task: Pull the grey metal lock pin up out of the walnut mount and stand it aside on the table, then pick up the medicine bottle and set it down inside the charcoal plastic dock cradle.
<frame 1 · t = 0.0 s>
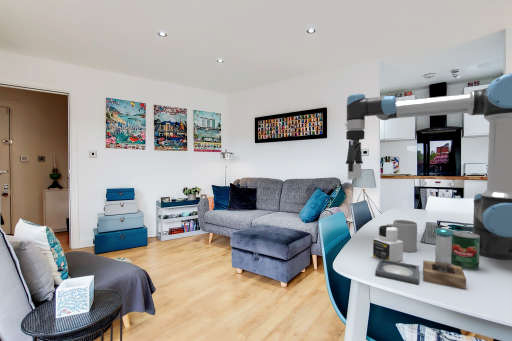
hand: (354, 178, 117), 28 cm above the table, fingers open, 13 cm apart
medicine bottle: (387, 259, 97), on the table
mount: (442, 278, 81), on the table
dock cradle: (397, 273, 84), on the table
mug: (399, 248, 109), on the table
canned tomato: (464, 266, 91), on the table
lock pin: (443, 254, 80), in the mount
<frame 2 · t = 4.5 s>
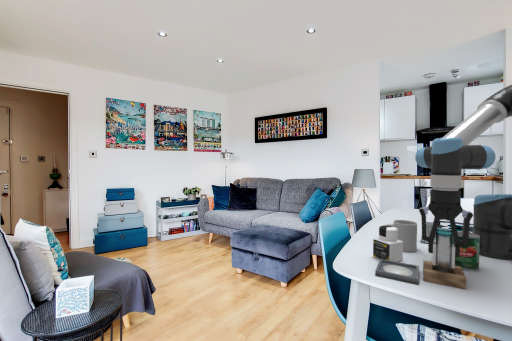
hand: (443, 265, 81), 4 cm above the table, fingers closed on lock pin, 4 cm apart
lock pin: (443, 254, 80), in the mount, touching gripper
everything else where it was.
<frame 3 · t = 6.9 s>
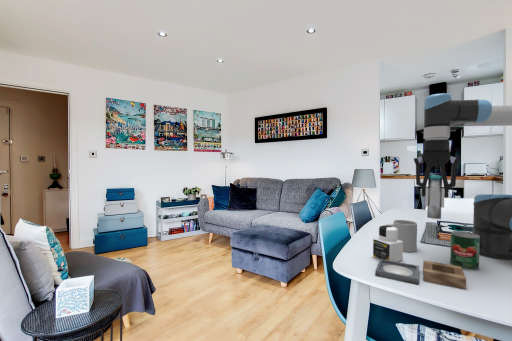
hand: (434, 206, 93), 20 cm above the table, fingers closed on lock pin, 4 cm apart
lock pin: (434, 196, 93), point 23 cm above the table, touching gripper
everything else where it was.
when the fingers open (5 cm above the table, at t = 9.3 s): lock pin stays where it is, on the table.
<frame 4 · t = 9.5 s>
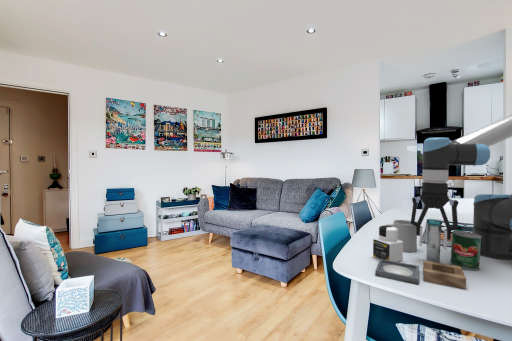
hand: (432, 246, 93), 6 cm above the table, fingers open, 6 cm apart
canned tomato: (464, 265, 91), on the table, touching gripper
lock pin: (433, 241, 93), on the table
everything else where it was.
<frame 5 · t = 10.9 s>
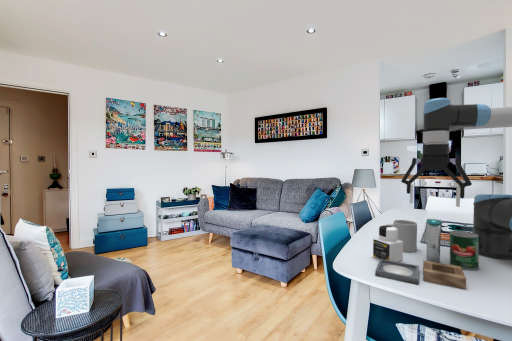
hand: (433, 204, 93), 21 cm above the table, fingers open, 13 cm apart
canned tomato: (463, 265, 91), on the table
everything else where it was.
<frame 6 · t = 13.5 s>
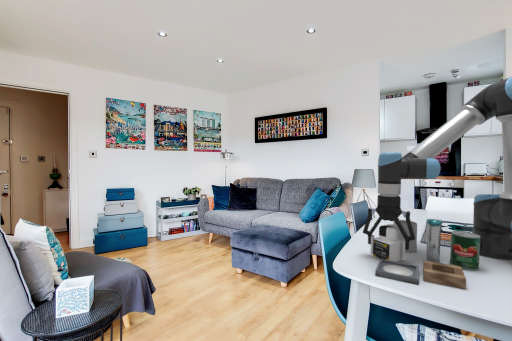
hand: (387, 255, 97), 1 cm above the table, fingers closed on medicine bottle, 10 cm apart
medicine bottle: (387, 259, 97), on the table, touching gripper
everything else where it was.
when the fingers open (3 cm above the table, at t = 19.6 s): medicine bottle stays where it is, resting on dock cradle.
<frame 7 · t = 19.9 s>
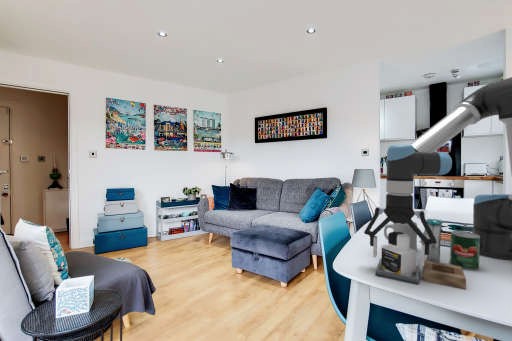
hand: (397, 260, 84), 4 cm above the table, fingers open, 13 cm apart
medicine bottle: (398, 270, 84), point 1 cm above the table, touching dock cradle
everything else where it was.
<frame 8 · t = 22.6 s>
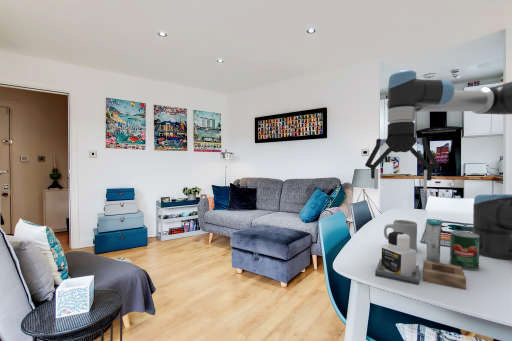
hand: (399, 190, 83), 27 cm above the table, fingers open, 13 cm apart
nothing on the table moved.
at the end: lock pin touching table; medicine bottle inside the target area on the dock cradle (0.2 cm from its centre), point 0.7 cm above the dock cradle's base; medicine bottle tilted 0° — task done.
